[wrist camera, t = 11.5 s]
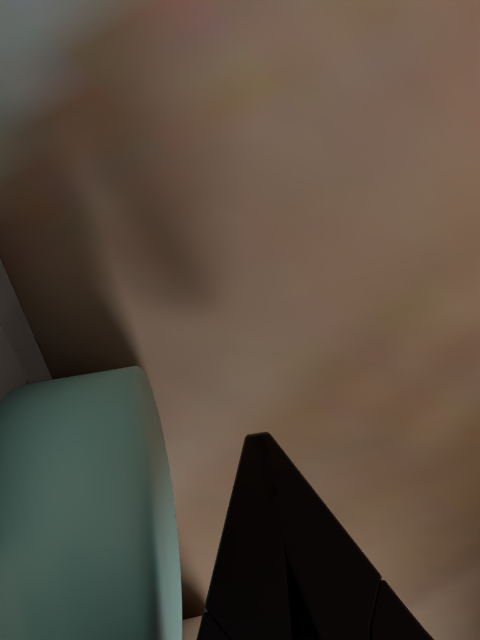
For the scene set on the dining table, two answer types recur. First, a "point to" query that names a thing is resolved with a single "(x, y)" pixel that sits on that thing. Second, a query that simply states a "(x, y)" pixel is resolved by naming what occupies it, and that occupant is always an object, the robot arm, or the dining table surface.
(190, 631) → the knob
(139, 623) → the knob
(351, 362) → the dining table surface
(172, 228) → the dining table surface
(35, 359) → the mount
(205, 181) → the dining table surface
